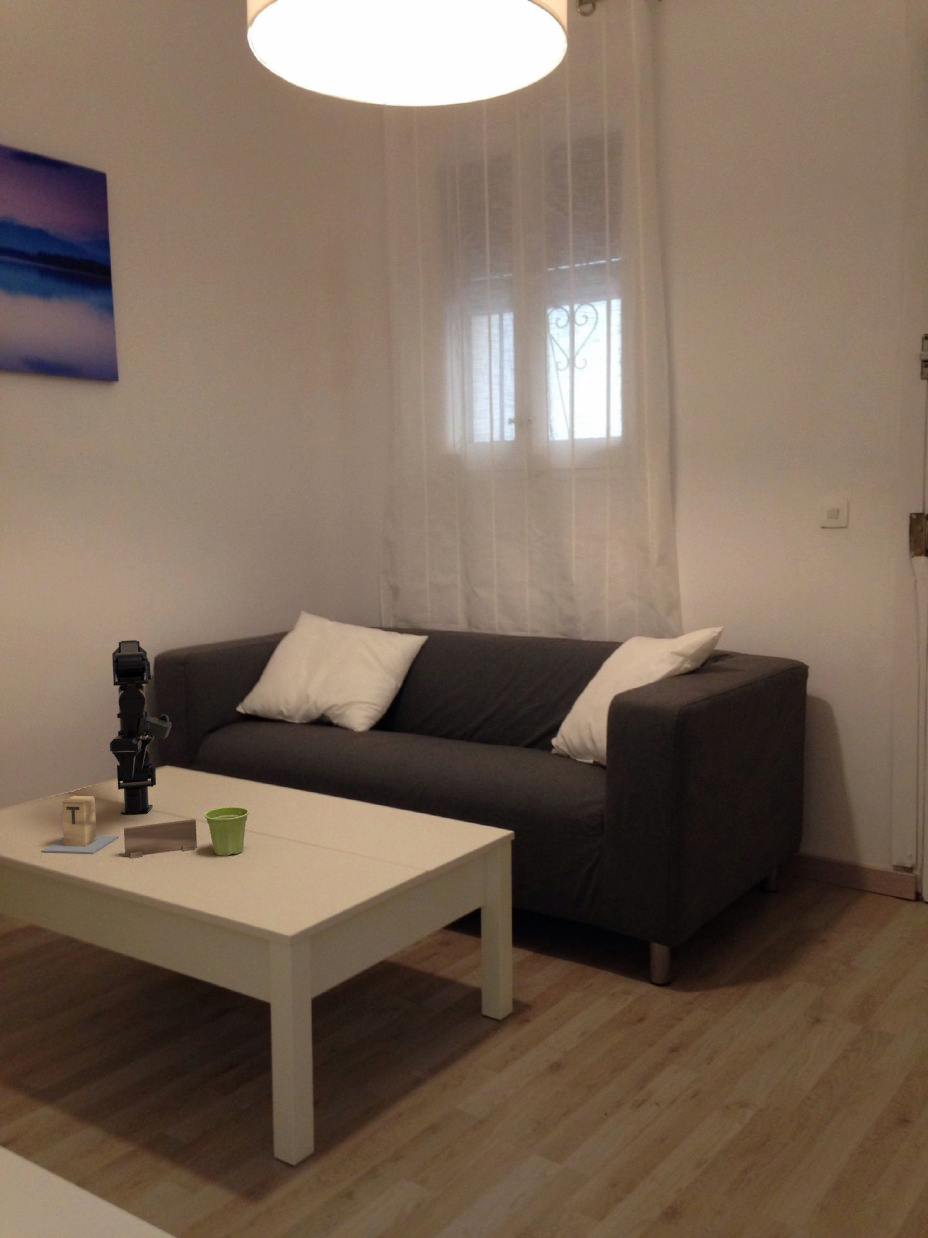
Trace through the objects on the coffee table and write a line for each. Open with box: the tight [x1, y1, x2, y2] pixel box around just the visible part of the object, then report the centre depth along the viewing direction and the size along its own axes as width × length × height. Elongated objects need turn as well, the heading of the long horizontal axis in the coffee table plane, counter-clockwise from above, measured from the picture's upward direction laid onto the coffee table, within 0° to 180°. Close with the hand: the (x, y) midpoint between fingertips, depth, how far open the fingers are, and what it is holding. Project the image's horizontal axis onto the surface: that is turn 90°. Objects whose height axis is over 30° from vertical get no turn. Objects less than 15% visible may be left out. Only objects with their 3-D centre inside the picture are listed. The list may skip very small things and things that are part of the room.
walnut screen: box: [123, 818, 198, 859], centre depth 242 cm, size 4×15×6 cm, turn 114°
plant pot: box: [203, 806, 250, 857], centre depth 241 cm, size 9×9×9 cm
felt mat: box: [41, 834, 120, 855], centre depth 248 cm, size 12×12×1 cm
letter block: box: [61, 795, 97, 847], centre depth 247 cm, size 5×5×10 cm
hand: (135, 774), depth 258 cm, fingers open, 9 cm apart
